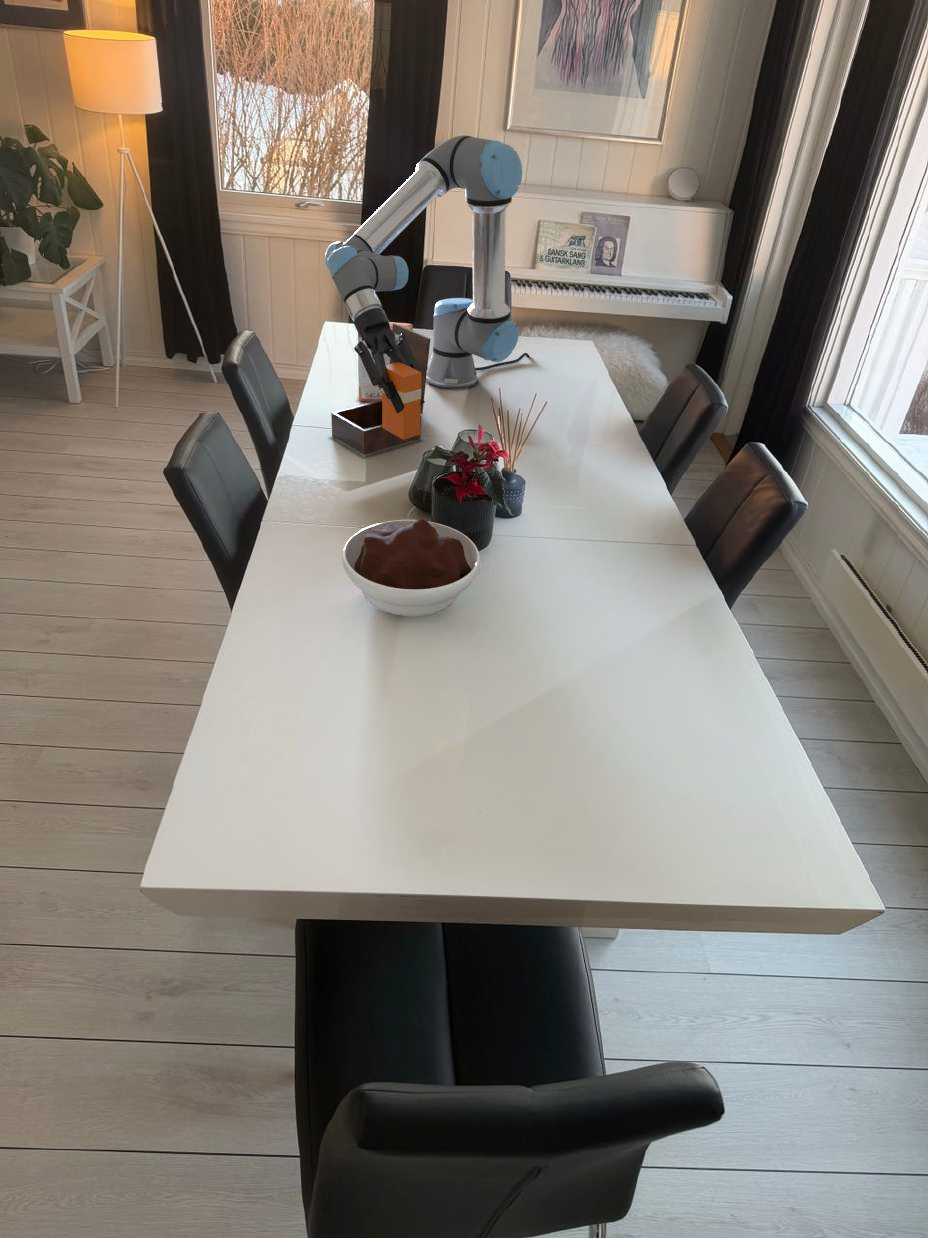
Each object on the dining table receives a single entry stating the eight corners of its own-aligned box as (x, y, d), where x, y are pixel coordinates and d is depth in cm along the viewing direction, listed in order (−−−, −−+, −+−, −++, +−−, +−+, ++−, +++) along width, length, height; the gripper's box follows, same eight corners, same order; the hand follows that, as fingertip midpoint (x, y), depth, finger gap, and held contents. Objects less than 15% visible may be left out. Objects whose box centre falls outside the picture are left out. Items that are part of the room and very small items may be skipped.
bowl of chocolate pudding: (357, 555, 169) (356, 486, 161) (482, 568, 168) (488, 500, 160) (329, 628, 149) (326, 554, 140) (470, 643, 148) (476, 570, 139)
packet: (399, 422, 204) (399, 361, 195) (420, 434, 199) (421, 372, 190) (381, 427, 201) (381, 365, 192) (403, 440, 196) (403, 376, 187)
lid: (428, 338, 201) (430, 338, 202) (392, 323, 209) (395, 323, 210) (420, 414, 211) (422, 413, 212) (386, 396, 219) (389, 396, 220)
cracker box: (411, 398, 239) (413, 322, 226) (408, 406, 234) (410, 329, 222) (362, 393, 239) (362, 317, 227) (358, 401, 234) (357, 324, 222)
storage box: (364, 457, 206) (363, 431, 202) (331, 438, 214) (331, 412, 210) (420, 441, 216) (421, 415, 212) (387, 423, 224) (387, 398, 220)
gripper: (392, 317, 202) (433, 406, 202) (328, 329, 191) (371, 423, 191) (406, 300, 196) (449, 392, 195) (341, 311, 185) (386, 408, 185)
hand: (410, 407), depth 193 cm, fingers closed on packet, 5 cm apart
